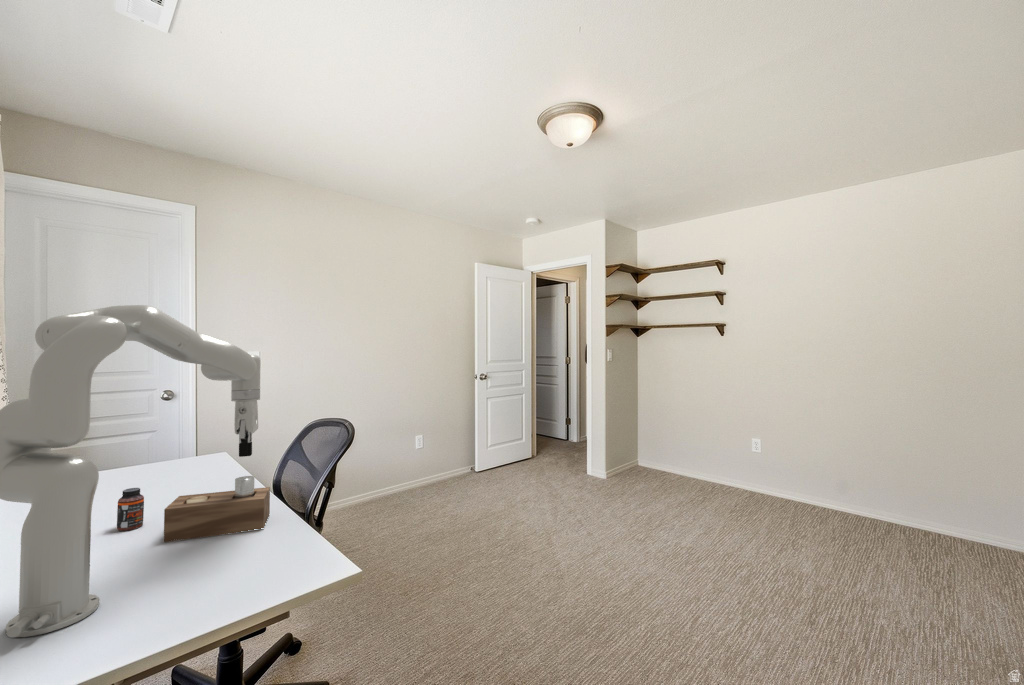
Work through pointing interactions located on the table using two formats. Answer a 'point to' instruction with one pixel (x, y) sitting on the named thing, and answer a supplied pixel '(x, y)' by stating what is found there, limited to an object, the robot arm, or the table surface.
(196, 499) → the peg left
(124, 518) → the supplement bottle
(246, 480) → the gray peg
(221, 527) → the walnut block
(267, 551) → the table surface
